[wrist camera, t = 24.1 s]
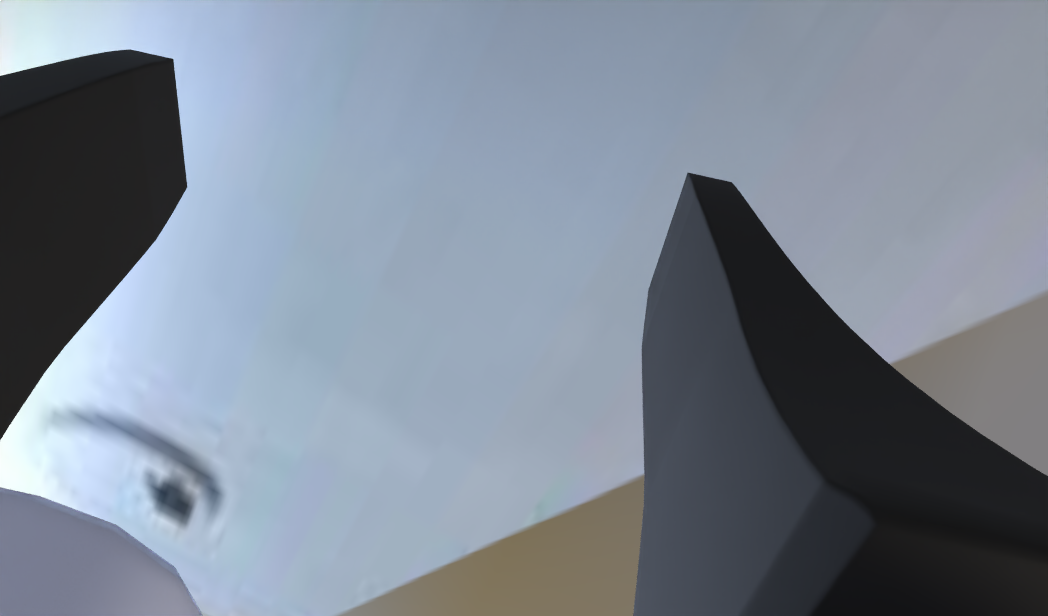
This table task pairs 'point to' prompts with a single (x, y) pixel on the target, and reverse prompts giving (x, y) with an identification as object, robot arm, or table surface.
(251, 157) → the table surface
